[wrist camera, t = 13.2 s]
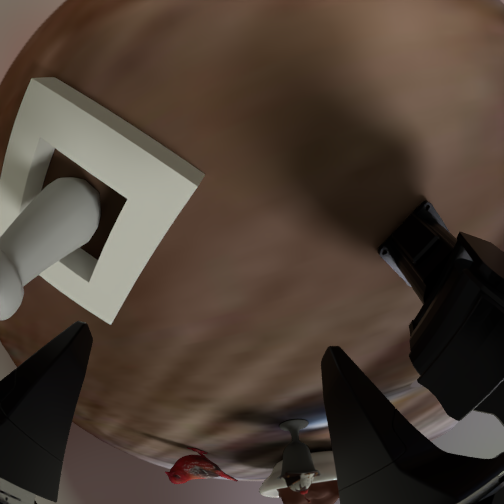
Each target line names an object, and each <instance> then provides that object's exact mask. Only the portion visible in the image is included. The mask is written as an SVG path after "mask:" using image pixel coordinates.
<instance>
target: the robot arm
mask: <svg viewBox="0 0 504 504" xmlns="http://www.w3.org/2000/svg"><path fill="white" fill-rule="evenodd" d="M426 206H427V208H426V209H425V207H426ZM383 250H385V252H383ZM382 252H383V253H382ZM378 253H379V255H380V256H381V257H382V258H383V259H384V260H385V261H386V262H387V263H388V264H389V265H390V266H391V267H392V268H393V269H394V270H395V271H396V272H397V273H398V275H399V276H400V277H401V278H402V279H403V280H404V281H405V282H406V283H407V284H408V285H409V286H410V287H412V288H413V290H414V291H415V293H416V294H417V296H418V297H419V299H420V300H421V302H422V303H423V306H422V308H421V310H420V311H419V313H418V314H417V316H416V318H415V319H414V320H412V322H411V323H410V325H409V329H410V336H411V338H410V350H411V352H410V353H409V357H410V360H411V362H412V364H413V366H414V368H415V369H416V371H417V372H418V373H419V375H420V377H419V378H418V379H417V381H418V383H420V384H421V385H423V386H424V387H426V388H427V389H428V390H429V391H430V392H431V393H432V394H434V395H435V396H436V398H437V399H438V401H439V402H440V403H441V405H442V407H443V408H444V410H445V411H446V413H447V415H449V416H450V417H452V418H454V419H455V420H458V421H460V420H462V419H463V418H464V417H465V416H467V415H468V414H469V413H470V412H471V411H472V410H474V411H478V412H483V413H487V414H492V415H494V416H495V417H496V418H497V419H498V420H499V421H500V422H501V423H502V425H503V426H504V252H503V251H501V250H500V249H499V248H498V247H496V246H495V245H494V244H492V243H490V242H488V241H485V240H482V239H480V238H477V237H474V236H471V235H468V234H466V233H463V232H459V234H458V236H457V239H456V238H455V237H454V236H453V235H452V234H451V233H450V232H449V230H448V229H447V227H446V226H445V224H444V222H443V221H442V219H441V218H440V216H439V215H438V213H437V212H436V210H435V209H434V207H433V206H432V204H431V203H430V202H428V201H424V202H422V203H421V205H420V206H419V207H418V208H417V209H416V210H415V211H414V212H413V213H412V214H411V215H410V216H409V217H408V219H407V220H406V221H405V222H404V223H403V224H402V225H401V226H400V227H399V228H398V229H397V230H396V231H395V232H394V233H393V234H392V235H391V236H390V237H389V238H388V239H387V240H386V241H385V242H384V243H383V244H382V245H381V246H380V247H379V249H378ZM92 343H93V338H92V335H91V332H90V330H89V327H88V324H87V323H85V322H81V321H77V322H75V323H74V324H72V325H71V326H70V327H68V328H67V329H66V330H64V331H63V332H62V333H60V334H59V335H58V336H57V337H55V338H54V339H53V340H51V341H50V342H49V343H47V344H46V345H45V346H44V347H42V348H41V349H40V350H38V351H37V352H36V353H35V354H33V355H32V356H31V357H30V358H28V359H27V360H26V361H25V362H23V363H22V364H21V365H20V366H18V367H17V368H16V369H15V370H13V371H12V372H11V373H10V374H9V375H7V376H6V377H5V378H4V379H2V380H1V381H0V504H37V503H36V501H35V495H38V496H41V497H43V498H45V499H48V500H51V501H54V502H57V497H58V489H59V482H60V476H61V470H62V464H63V462H62V461H63V458H64V453H65V449H66V444H67V439H68V435H69V430H70V427H71V423H72V419H73V415H74V411H75V408H76V404H77V401H78V397H79V394H80V391H81V387H82V384H83V381H84V377H85V374H86V369H87V365H88V360H89V356H90V351H91V347H92ZM321 371H322V384H323V398H324V405H325V411H326V416H327V421H328V427H329V433H330V439H331V445H332V451H333V457H334V463H335V470H336V476H337V483H338V490H339V498H340V504H504V474H502V475H500V476H499V477H498V475H499V474H500V473H501V472H502V471H504V452H502V453H500V454H499V455H497V456H496V457H495V458H492V459H480V458H473V457H467V456H462V455H456V454H451V453H447V452H445V451H443V450H441V449H439V448H438V447H437V446H435V445H434V444H433V443H432V442H431V441H430V440H428V439H427V438H426V437H425V436H424V435H423V434H421V433H420V432H419V431H418V430H417V429H416V428H415V427H414V426H413V425H412V424H410V423H409V422H408V421H407V419H406V418H405V417H404V416H403V415H402V414H401V413H400V412H399V411H398V410H397V409H395V407H394V406H393V405H392V403H391V402H390V401H389V400H388V399H387V398H386V397H385V396H384V395H383V394H382V392H381V391H380V390H379V389H378V388H377V387H376V386H375V385H374V384H373V383H372V382H371V380H370V379H369V378H368V377H367V376H366V375H365V374H364V373H363V372H362V371H361V369H360V368H359V367H358V366H357V365H356V364H355V363H354V362H353V361H352V360H351V359H350V357H349V356H348V355H347V354H346V353H345V352H344V351H343V350H342V349H341V348H340V347H339V346H329V347H328V348H327V350H326V352H325V354H324V356H323V358H322V361H321Z"/></svg>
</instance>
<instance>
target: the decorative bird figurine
mask: <svg viewBox="0 0 504 504" xmlns="http://www.w3.org/2000/svg"><path fill="white" fill-rule="evenodd" d="M187 448H188V447H187ZM188 449H192V450H193V451H196V452H198V453H199V454H200V455H201V456H199V455H188V456H184V457H182V458H180V459H179V460H178V461H177V462H176V463H175V464H174V466H173V467H172V468H171V470H170V472H165V473H166V474H167V475H168V477H169V479H170V481H171V482H172V483H174V484H180V483H185V482H187V481H189V480H191V479H205V478H213V477H218V476H221V477H224V478H227V479H230V480H234V481H238V480H236V479H234V478H233V477H230V476H229V475H227V474H225V473H224V472H223V471H222V470H221V469H220V468H219V467H218V466H217V465H216V464H215V463H213V462H211V461H210V460H209V459H207V458H206V457H205V456H204V455H203V454H207V453H203V452H204V451H201V450H198V449H196V448H188ZM202 453H203V454H202Z"/></svg>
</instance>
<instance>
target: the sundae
mask: <svg viewBox="0 0 504 504" xmlns="http://www.w3.org/2000/svg"><path fill="white" fill-rule="evenodd" d="M308 424H309V423H308V421H306V420H303V419H293V420H288V421H285V422H283V423H281V424H280V426H279V427H280V428H281V429H282V430H286V431H290V433H291V436H292V442H291V443H290V444H289V445H288V446H287V447H286V448H285V449H284V454H283V462H282V471H281V475H280V476H279V477H278V478H277V479H282V480H283V481H284V482H285V483H286V485H287V487H289V488H290V489H292V490H293V491H296V492H300V493H301V494H303V495H304V498H305V499H306V497H305V494H306V493H307V492H308V490H309V489H308V488H309V486H310V485H311V483H312V481H313V478H314V477H316V476H320V472H319V471H318V470H315V467H314V464H313V461H312V457H311V453H310V451H309V448H308V446H307V445H305V444H304V443H302V442H300V441H299V436H298V434H299V430H300V429H303V428H305V427H306V426H307V425H308ZM306 500H307V501H308V503H310V502H311V501H310V500H308V499H306Z"/></svg>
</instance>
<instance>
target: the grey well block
mask: <svg viewBox="0 0 504 504" xmlns="http://www.w3.org/2000/svg"><path fill="white" fill-rule="evenodd" d="M55 148H56V149H57V150H58V151H60V152H61V153H63V154H64V155H65V156H67V157H68V158H70V159H71V160H72V161H74V162H75V163H77V164H78V165H79V166H81V167H82V168H84V169H85V170H86V171H88V172H89V173H91V174H92V175H93V176H95V177H96V178H98V179H99V180H101V181H102V182H103V183H105V184H106V185H108V186H109V187H111V188H112V189H114V190H115V191H116V192H118V193H119V194H121V195H122V196H124V197H125V198H127V201H126V203H125V205H124V207H123V209H122V211H121V213H120V215H119V217H118V219H117V221H116V223H115V225H114V227H113V229H112V231H111V233H110V235H109V237H108V239H107V242H106V244H105V246H104V248H103V250H102V253H101V255H100V257H99V260H97V259H95V258H94V257H92V256H91V255H90V254H88V253H87V252H85V251H84V250H83V249H81V248H80V247H79V248H78V249H76V250H74V251H73V252H71V253H70V254H68V255H67V256H65V257H63V258H62V259H60V260H59V261H57V262H56V263H54V264H53V265H51V266H50V267H48V268H47V269H46V270H44V271H43V272H42V273H40V274H39V275H40V276H41V277H42V278H44V279H45V280H46V281H47V282H49V283H50V284H51V285H53V286H54V287H55V288H57V289H58V290H59V291H61V292H62V293H64V294H65V295H66V296H68V297H69V298H71V299H72V300H73V301H75V302H76V303H78V304H79V305H81V306H82V307H84V308H85V309H87V310H88V311H90V312H91V313H93V314H94V315H96V316H97V317H99V318H100V319H102V320H104V321H105V322H107V323H108V324H110V325H111V324H112V322H113V320H114V319H115V317H116V315H117V313H118V311H119V309H120V308H121V306H122V304H123V302H124V301H125V299H126V297H127V295H128V294H129V292H130V290H131V288H132V287H133V285H134V283H135V282H136V280H137V278H138V277H139V275H140V273H141V272H142V270H143V268H144V267H145V265H146V263H147V262H148V260H149V259H150V257H151V255H152V254H153V252H154V251H155V249H156V248H157V246H158V244H159V243H160V241H161V240H162V238H163V237H164V235H165V234H166V232H167V231H168V229H169V228H170V226H171V225H172V223H173V222H174V220H175V219H176V217H177V216H178V214H179V213H180V211H181V210H182V208H183V207H184V206H185V204H186V203H187V201H188V200H189V198H190V197H191V196H192V194H193V193H194V191H195V190H196V189H197V187H198V186H199V184H200V182H201V181H202V179H203V178H204V176H205V174H204V173H203V172H201V171H200V170H198V169H197V168H195V167H194V166H192V165H191V164H190V163H188V162H187V161H185V160H184V159H182V158H181V157H179V156H178V155H176V154H175V153H173V152H172V151H170V150H169V149H168V148H166V147H165V146H163V145H162V144H160V143H159V142H157V141H156V140H154V139H153V138H151V137H150V136H148V135H147V134H145V133H143V132H142V131H140V130H139V129H137V128H136V127H134V126H133V125H131V124H130V123H128V122H127V121H125V120H123V119H122V118H120V117H119V116H117V115H116V114H114V113H112V112H111V111H109V110H108V109H106V108H105V107H103V106H101V105H100V104H98V103H96V102H95V101H93V100H92V99H90V98H88V97H87V96H85V95H83V94H82V93H80V92H79V91H77V90H75V89H74V88H72V87H70V86H69V85H67V84H65V83H63V82H62V81H60V80H58V79H57V78H55V77H43V78H31V81H30V83H29V85H28V88H27V90H26V93H25V95H24V98H23V100H22V103H21V106H20V108H19V111H18V114H17V117H16V120H15V123H14V126H13V129H12V133H11V136H10V140H9V143H8V147H7V151H6V155H5V159H4V164H3V168H2V173H1V178H0V237H1V236H2V235H3V233H4V232H5V231H6V230H7V229H8V227H9V226H10V225H11V224H12V223H13V221H14V220H15V219H16V218H17V217H18V216H19V215H20V213H21V212H22V211H23V210H24V209H25V208H26V207H27V206H28V205H29V204H30V202H31V201H32V200H33V199H34V198H35V197H36V196H37V195H38V194H39V193H40V192H41V189H42V186H43V183H44V179H45V176H46V173H47V170H48V167H49V164H50V161H51V158H52V155H53V152H54V150H55Z"/></svg>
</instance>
